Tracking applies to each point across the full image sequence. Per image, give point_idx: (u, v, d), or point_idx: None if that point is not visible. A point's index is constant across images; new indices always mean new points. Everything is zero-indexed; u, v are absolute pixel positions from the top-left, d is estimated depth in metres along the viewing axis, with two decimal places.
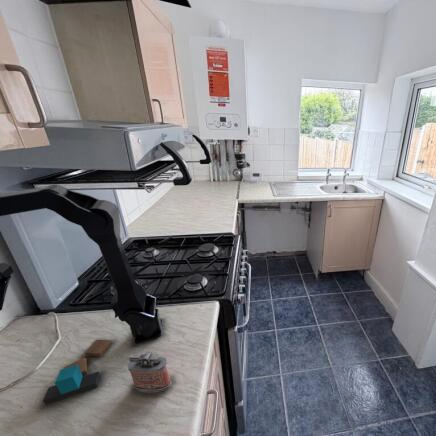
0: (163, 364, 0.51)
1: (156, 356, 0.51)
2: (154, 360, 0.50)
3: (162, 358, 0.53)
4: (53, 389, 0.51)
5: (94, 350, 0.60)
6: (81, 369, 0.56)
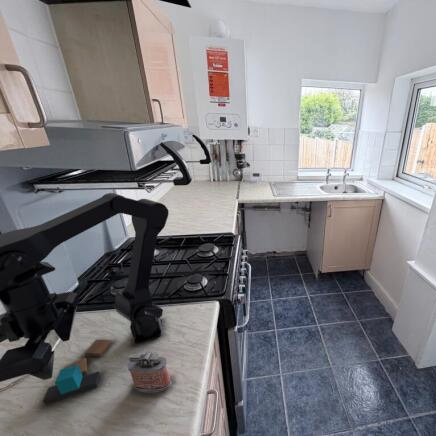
0: (163, 364, 0.51)
1: (156, 356, 0.51)
2: (154, 360, 0.50)
3: (162, 358, 0.53)
4: (53, 389, 0.51)
5: (94, 350, 0.60)
6: (81, 369, 0.56)
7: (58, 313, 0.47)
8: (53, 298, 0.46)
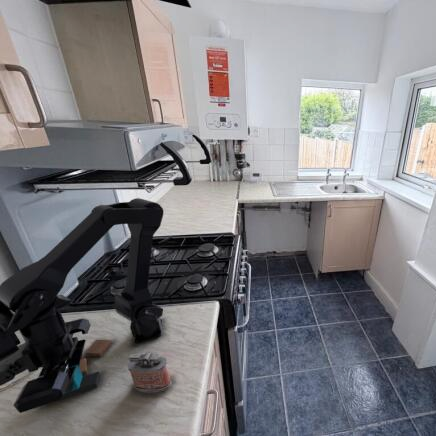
0: (163, 364, 0.51)
1: (156, 356, 0.51)
2: (154, 360, 0.50)
3: (162, 358, 0.53)
4: None
5: (94, 350, 0.60)
6: (81, 369, 0.56)
7: (73, 342, 0.50)
8: (69, 328, 0.49)
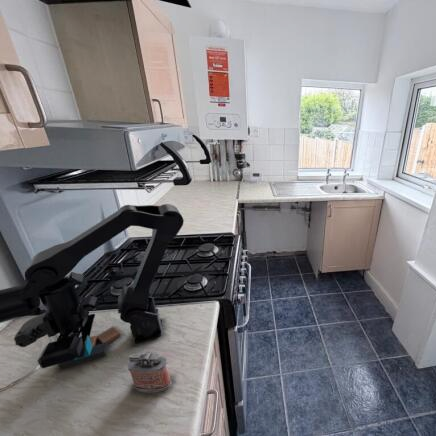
0: (163, 364, 0.51)
1: (156, 356, 0.51)
2: (154, 360, 0.50)
3: (162, 358, 0.53)
4: None
5: (103, 337, 0.64)
6: None
7: (85, 313, 0.57)
8: (82, 301, 0.56)
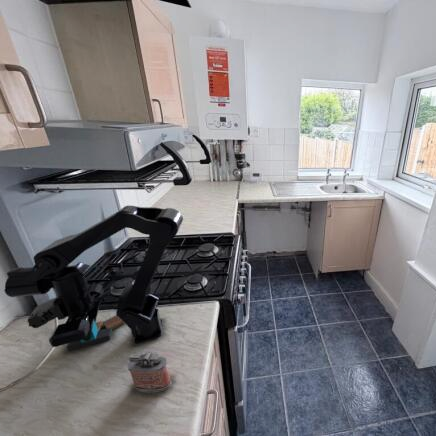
0: (163, 364, 0.51)
1: (156, 356, 0.51)
2: (154, 360, 0.50)
3: (162, 358, 0.53)
4: None
5: (107, 324, 0.68)
6: None
7: (91, 299, 0.61)
8: (88, 288, 0.60)
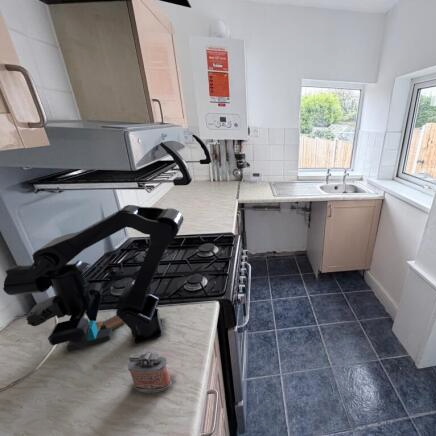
0: (163, 364, 0.51)
1: (156, 356, 0.51)
2: (154, 360, 0.50)
3: (162, 358, 0.53)
4: None
5: (107, 324, 0.68)
6: None
7: (91, 298, 0.61)
8: (87, 286, 0.60)
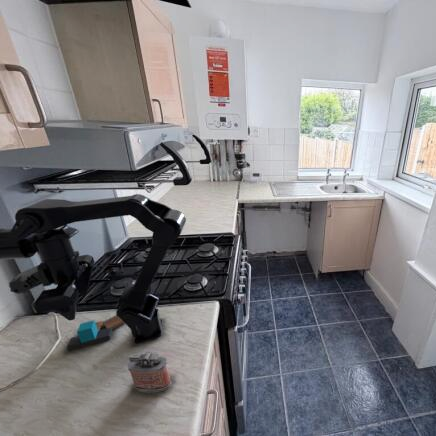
0: (163, 364, 0.51)
1: (156, 356, 0.51)
2: (154, 360, 0.50)
3: (162, 358, 0.53)
4: (74, 339, 0.63)
5: (107, 324, 0.68)
6: None
7: (80, 267, 0.57)
8: (76, 254, 0.56)
